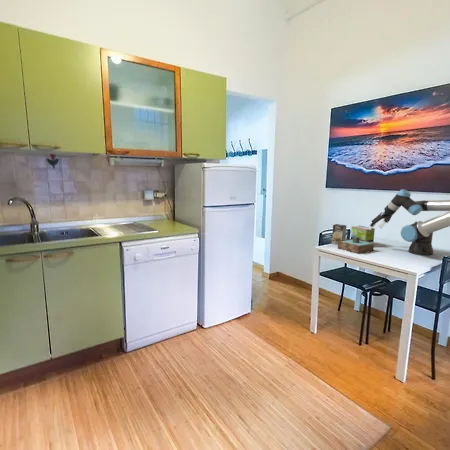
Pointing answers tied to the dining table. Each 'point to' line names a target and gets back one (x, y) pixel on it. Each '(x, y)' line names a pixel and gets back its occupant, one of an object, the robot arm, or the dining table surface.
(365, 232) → the tea box
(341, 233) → the coffee box
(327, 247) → the dining table surface
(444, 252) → the dining table surface
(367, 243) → the cover plate
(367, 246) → the walnut box
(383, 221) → the robot arm
